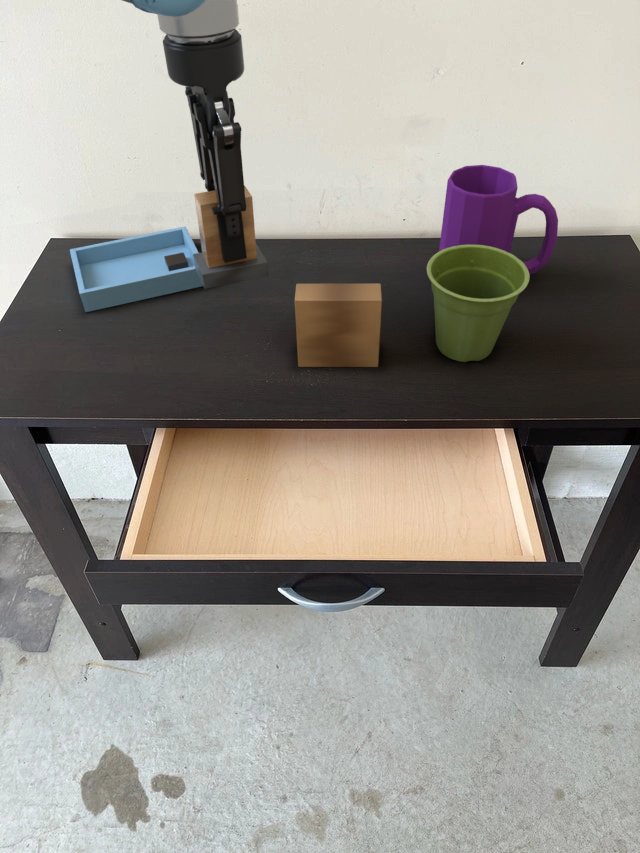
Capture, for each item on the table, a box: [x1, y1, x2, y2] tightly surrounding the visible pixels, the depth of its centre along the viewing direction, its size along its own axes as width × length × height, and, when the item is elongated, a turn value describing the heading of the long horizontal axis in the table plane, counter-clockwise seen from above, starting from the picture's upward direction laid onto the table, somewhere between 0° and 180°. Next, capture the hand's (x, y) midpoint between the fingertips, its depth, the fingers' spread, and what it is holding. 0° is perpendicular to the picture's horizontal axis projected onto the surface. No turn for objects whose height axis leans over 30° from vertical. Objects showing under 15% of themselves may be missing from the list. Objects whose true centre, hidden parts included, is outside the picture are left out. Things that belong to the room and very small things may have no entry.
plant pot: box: [426, 245, 531, 363], centre depth 81 cm, size 12×12×11 cm
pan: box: [69, 225, 204, 313], centre depth 97 cm, size 18×13×3 cm
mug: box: [438, 164, 559, 275], centre depth 90 cm, size 9×16×15 cm, turn 82°
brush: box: [193, 185, 269, 290], centre depth 78 cm, size 8×5×10 cm, turn 111°
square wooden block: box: [294, 282, 383, 368], centre depth 80 cm, size 10×4×10 cm, turn 89°
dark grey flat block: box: [164, 252, 189, 271], centre depth 99 cm, size 3×3×1 cm
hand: (230, 251), depth 79 cm, fingers closed on brush, 3 cm apart
